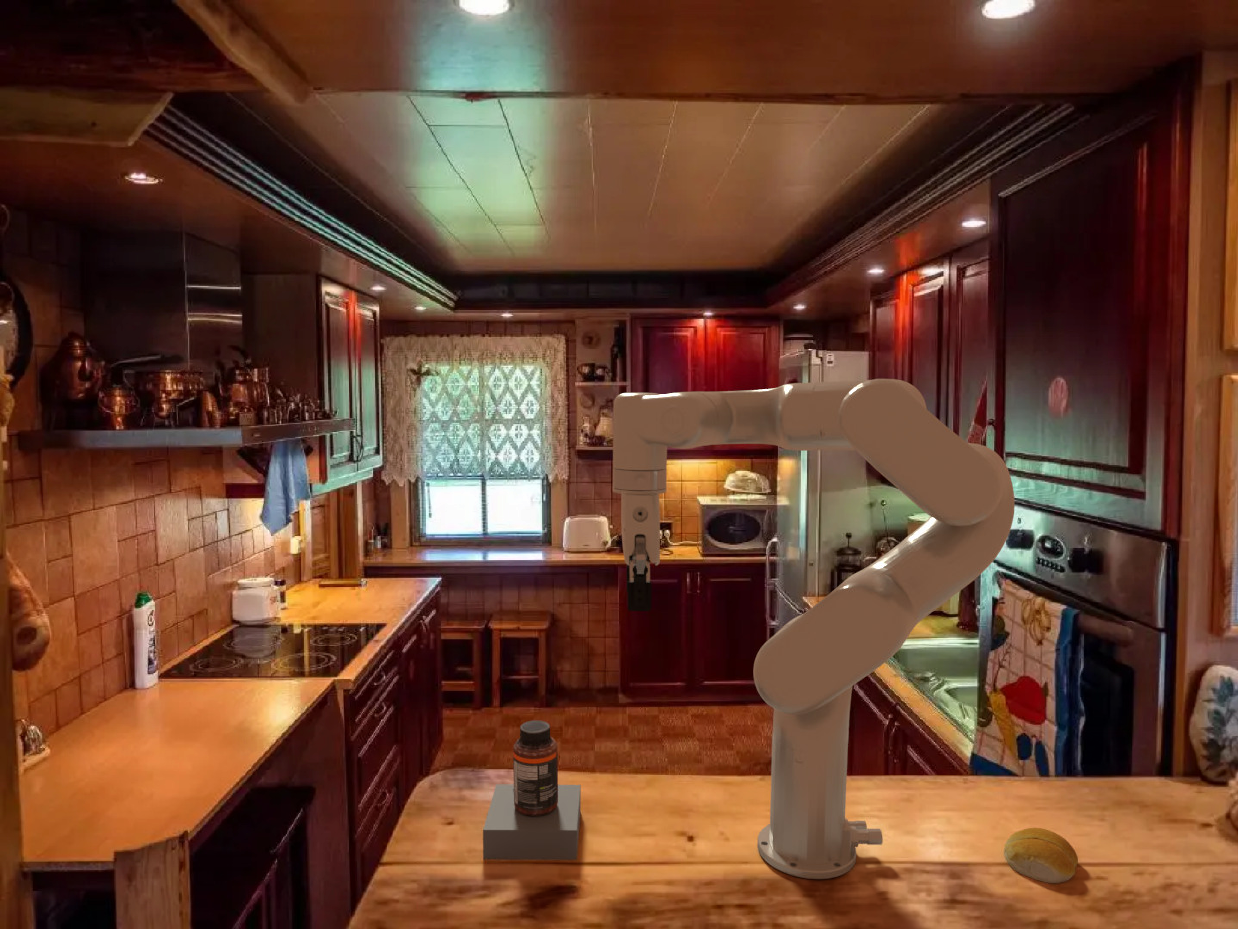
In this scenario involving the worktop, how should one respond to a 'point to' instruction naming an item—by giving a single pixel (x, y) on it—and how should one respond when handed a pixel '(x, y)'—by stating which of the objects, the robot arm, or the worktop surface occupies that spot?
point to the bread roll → (1041, 855)
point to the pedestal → (532, 828)
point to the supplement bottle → (535, 770)
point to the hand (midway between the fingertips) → (638, 601)
